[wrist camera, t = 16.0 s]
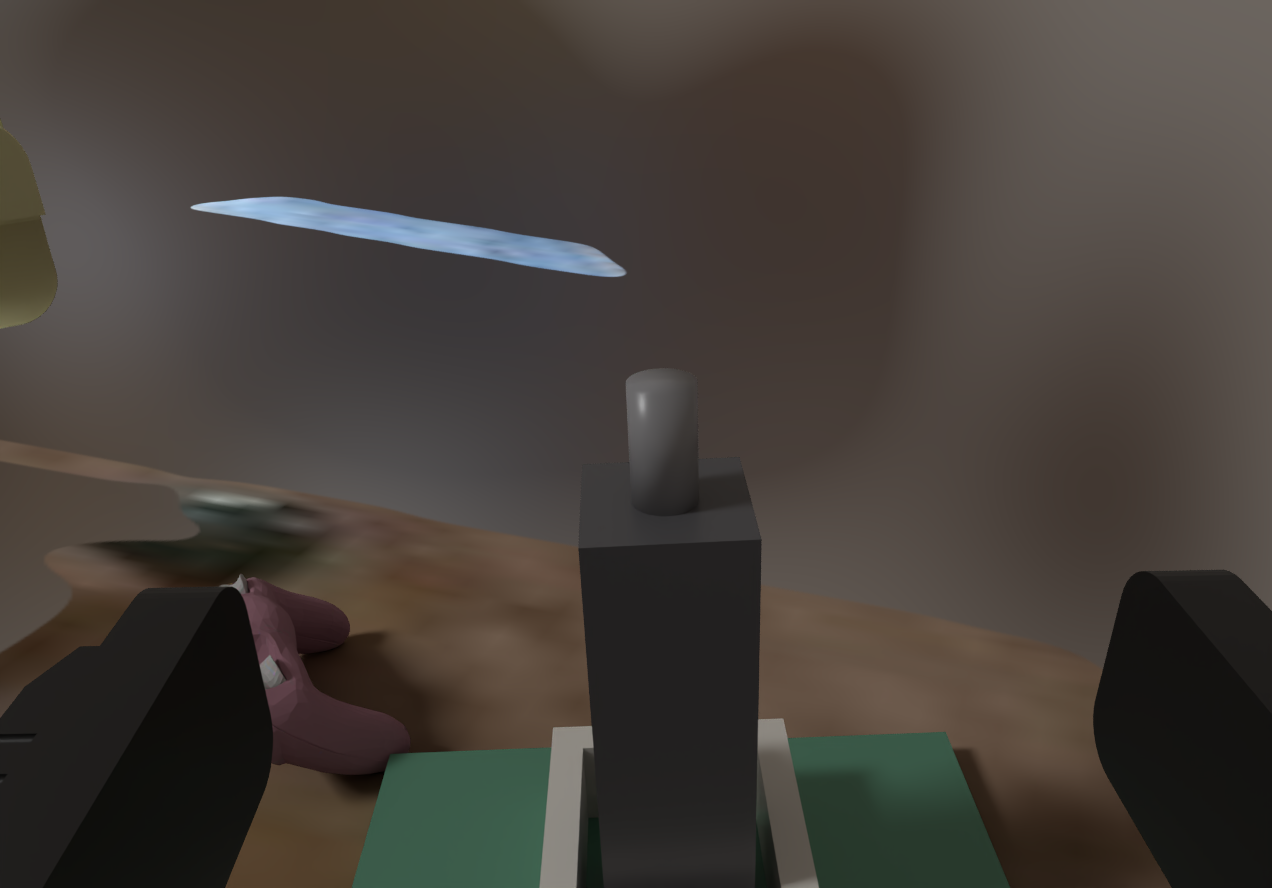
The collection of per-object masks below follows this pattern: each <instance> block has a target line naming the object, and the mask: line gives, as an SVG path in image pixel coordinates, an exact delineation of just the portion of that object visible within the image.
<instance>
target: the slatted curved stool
mask: <svg viewBox="0 0 1272 888" xmlns="http://www.w3.org/2000/svg"><path fill="white" fill-rule="evenodd" d="M40 215H45V211H44V208H43V204H42V201H41V197H40V194H39V190H38V187H37V184H36V180H35V177H34V173H33V170H32V167H31V164H30V161H29V159H28V156H27V154H26V153H25V151H24V150H23V148H22V146H21V145H20V144H19V142H18V141H17V140H16V139H15V138H14V137H13V136H12V135H11V134H10V133H9V132H8V131H6V130H5V129H4V128H3V125H2V122H1V120H0V329H1V328H6V327H11V326H16V325H22V324H26V323H29V322H31V321H33V320H35V319H36V318H38V317H40V316H41V315H42V314H43V313H44V312H46V310H47V309H48V308H49V306H50V305H51V303H52V301H53V299H54V297H55V294H56V290H57V273H56V269H55V266H54V262H53V259H52V256H51V252H50V249H49V245H48V242H47V238H46V235H45V231H44V227H43V224H42V220H41V217H40Z"/></svg>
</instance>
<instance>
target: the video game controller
mask: <svg viewBox="0 0 1272 888" xmlns="http://www.w3.org/2000/svg"><path fill="white" fill-rule="evenodd" d="M220 587H234V588H236V589H237V590H238V591H239V592H240V593H241V595H242V597H243V599H244V601H245V604H246V608H247V611H248V616H249V620H250V625H251V629H252V634H253V638H254V642H255V647H256V651H257V656H258V660H259V665H260V669H261V673H262V678H263V682H264V687H265V691H266V696H267V700H268V704H269V709H270V713H271V719H272V727H273V752H272V761H271V763H273V764H276V765H281V764H285V763H288V764H292V765H296V766H300V767H304V768H308V769H312V770H316V771H320V772H325V773H334V774H343V775H360V774H372V773H377V772H382V771H385V770H386V767H387V763H388V760H389V756H390V754H401V753H408V751H409V749H410V736H409V734H408V731H407V729H406V727H405V726H404V725H403V724H402V723H401V722H399V721H397V720H396V719H394V718H393V717H391V716H390V715H388V714H385V713H382V712H378V711H374V710H370V709H366V708H363V707H359V706H355V705H351V704H348V703H345V702H342V701H339V700H336V699H334V698H332V697H330V696H328V695H326V694H324V693H322V692H320V691H319V690H318V689H317V688H315V687H314V686H313V684H312V682H311V680H310V678H309V675H308V673H307V671H306V668H305V666H304V664H303V662H302V660H301V658H300V656H299V654H308V653H315V652H322V651H327V650H330V649H333V648H336V647H338V646H339V645H341V644H343V642H344V641H345V640H346V638H347V637H348V635H349V632H350V624H349V621H348V618H347V617H346V615H345V614H344V613H343V612H342V611H341V610H340V609H339V608H337V607H336V606H335V605H333V604H331V603H328V602H326V601H323V600H320V599H317V598H314V597H309V596H305V595H300V594H296V593H292V592H289V591H286V590H283V589H281V588H279V587H276V586H274V585H272V584H270V583H268V582H266V581H264V580H261V579H258V578H255V577H253V578H248V579H245V577H244V576H243V575H242V574H240V576H239V578H238V580H237V582H234V583H231V584H228V585H221V586H220Z"/></svg>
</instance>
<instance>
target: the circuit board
mask: <svg viewBox="0 0 1272 888" xmlns="http://www.w3.org/2000/svg"><path fill="white" fill-rule="evenodd" d="M352 888H604V882H603V869H602V855H601V842H600V829H599V815H598V802H597V789H596V775H595V762H594V748H593V735H592V726H584V727H558V728H553V737H552V748H527V749H502V750H477V751H451V752H426V753H401V754H390V756H389V760H388V763H387V767H386V770H385V774H384V777H383V781H382V784H381V788H380V791H379V795H378V798H377V802H376V805H375V809H374V812H373V816H372V819H371V823H370V826H369V830H368V833H367V837H366V840H365V844H364V847H363V850H362V854H361V857H360V861H359V864H358V868H357V871H356V875H355V878H354V882H353V885H352ZM755 888H1010V886H1009V884H1008V881H1007V879H1006V876H1005V874H1004V872H1003V869H1002V867H1001V864H1000V862H999V860H998V857H997V855H996V852H995V850H994V848H993V845H992V843H991V840H990V838H989V836H988V833H987V831H986V828H985V826H984V823H983V821H982V819H981V816H980V814H979V811H978V809H977V807H976V804H975V802H974V799H973V797H972V795H971V792H970V790H969V787H968V785H967V783H966V780H965V778H964V775H963V773H962V771H961V768H960V766H959V763H958V761H957V759H956V756H955V754H954V751H953V749H952V746H951V744H950V742H949V739H948V737H947V734H946V732H933V733H907V734H882V735H857V736H831V737H806V738H787V734H786V729H785V725H784V720H783V719H760V720H758V752H757V806H756V860H755Z"/></svg>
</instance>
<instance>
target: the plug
mask: <svg viewBox="0 0 1272 888" xmlns="http://www.w3.org/2000/svg"><path fill="white" fill-rule="evenodd" d="M697 385H698V382H697V378H696V377H695V376H694V375H693V374H691V373H689V372H686V371H683V370H678V369H669V368H668V369H667V368H661V369H650V370H645V371H641V372H638V373H635V374H633V375H632V376H630V377H629V378H628V379H627V381H626V398H627V417H628V418H627V420H628V441H629V462H626V463H606V464H605V463H604V464H583V465H582V480H581V503H580V527H579V561H580V574H581V588H582V601H583V614H584V628H585V641H586V655H587V668H588V681H589V695H590V708H591V722H592V735H593V748H594V762H595V775H596V789H597V802H598V815H599V829H600V842H601V855H602V869H603V882H604V888H755V860H756V806H757V752H758V699H759V645H760V591H761V536H760V532H759V529H758V525H757V521H756V517H755V514H754V510H753V506H752V502H751V498H750V495H749V491H748V488H747V483H746V480H745V476H744V472H743V469H742V465H741V461H740V457H731V458H710V459H698V386H697Z"/></svg>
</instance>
